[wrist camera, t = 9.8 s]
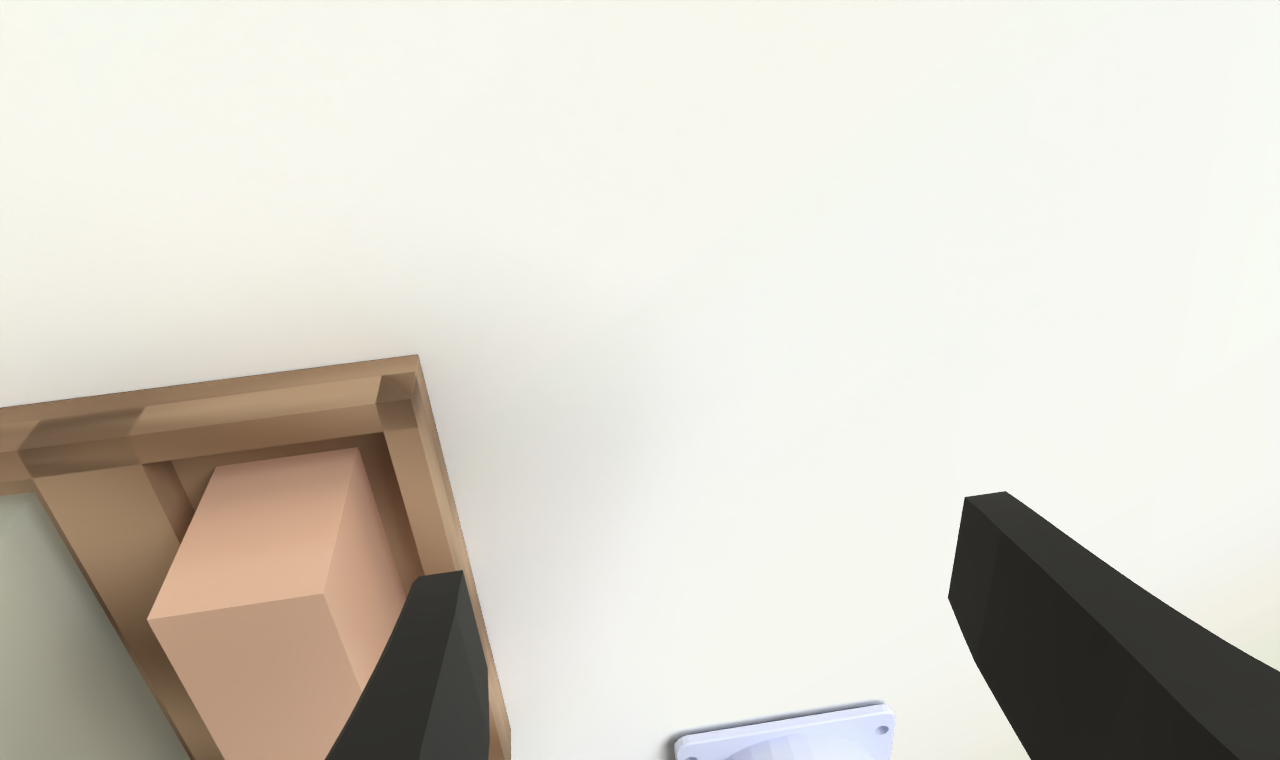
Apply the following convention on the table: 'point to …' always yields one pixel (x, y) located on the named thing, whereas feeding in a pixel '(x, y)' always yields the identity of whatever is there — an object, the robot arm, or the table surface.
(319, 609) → the peach rectangular block
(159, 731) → the grey-green block
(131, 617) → the rack
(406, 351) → the table surface
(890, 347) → the table surface
